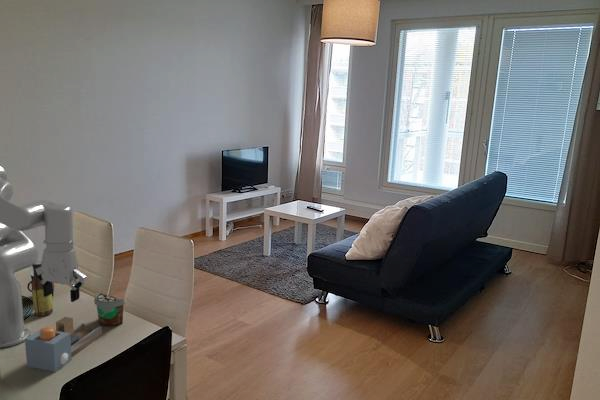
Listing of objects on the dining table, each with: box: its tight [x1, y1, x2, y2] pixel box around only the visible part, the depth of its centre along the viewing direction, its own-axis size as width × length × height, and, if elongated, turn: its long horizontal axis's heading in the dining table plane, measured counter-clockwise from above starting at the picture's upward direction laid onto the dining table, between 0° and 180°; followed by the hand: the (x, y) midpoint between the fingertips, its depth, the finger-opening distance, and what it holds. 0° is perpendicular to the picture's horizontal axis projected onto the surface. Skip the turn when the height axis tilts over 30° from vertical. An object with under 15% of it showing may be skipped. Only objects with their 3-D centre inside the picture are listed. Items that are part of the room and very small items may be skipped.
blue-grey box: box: [24, 327, 73, 373], centre depth 146 cm, size 10×7×9 cm
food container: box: [93, 290, 126, 328], centre depth 172 cm, size 12×6×10 cm, turn 62°
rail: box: [71, 323, 103, 358], centre depth 158 cm, size 8×17×3 cm, turn 166°
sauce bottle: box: [30, 260, 54, 317], centre depth 177 cm, size 7×6×20 cm
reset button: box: [39, 326, 56, 341], centre depth 146 cm, size 4×4×4 cm
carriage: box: [55, 316, 79, 346], centre depth 153 cm, size 5×6×9 cm
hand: (61, 297), depth 150 cm, fingers open, 9 cm apart
